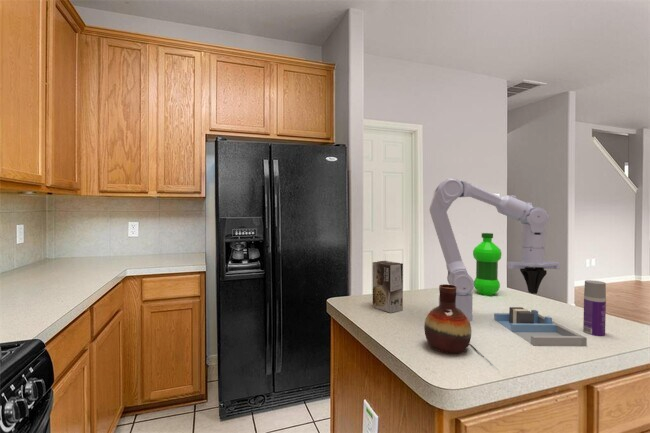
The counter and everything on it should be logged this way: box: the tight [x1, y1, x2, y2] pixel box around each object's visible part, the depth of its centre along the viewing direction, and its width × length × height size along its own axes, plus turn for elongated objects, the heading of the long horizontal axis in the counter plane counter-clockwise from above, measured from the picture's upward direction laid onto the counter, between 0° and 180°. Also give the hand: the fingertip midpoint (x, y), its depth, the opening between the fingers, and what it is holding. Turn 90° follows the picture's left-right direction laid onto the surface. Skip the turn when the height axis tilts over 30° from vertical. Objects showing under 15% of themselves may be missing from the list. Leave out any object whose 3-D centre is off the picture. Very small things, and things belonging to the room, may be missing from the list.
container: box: [582, 279, 607, 337], centre depth 92 cm, size 5×5×15 cm
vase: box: [423, 284, 472, 355], centre depth 84 cm, size 11×11×15 cm
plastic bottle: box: [472, 232, 502, 296], centre depth 139 cm, size 10×10×25 cm
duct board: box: [493, 309, 588, 347], centre depth 93 cm, size 13×20×4 cm, turn 0°
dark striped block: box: [508, 306, 534, 324], centre depth 97 cm, size 4×6×5 cm, turn 179°
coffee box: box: [371, 260, 404, 314], centre depth 117 cm, size 9×6×16 cm
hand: (532, 293), depth 100 cm, fingers closed
